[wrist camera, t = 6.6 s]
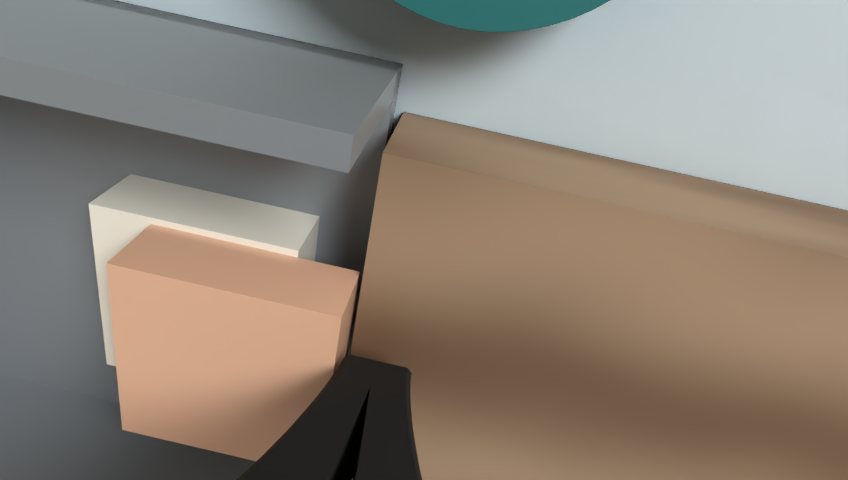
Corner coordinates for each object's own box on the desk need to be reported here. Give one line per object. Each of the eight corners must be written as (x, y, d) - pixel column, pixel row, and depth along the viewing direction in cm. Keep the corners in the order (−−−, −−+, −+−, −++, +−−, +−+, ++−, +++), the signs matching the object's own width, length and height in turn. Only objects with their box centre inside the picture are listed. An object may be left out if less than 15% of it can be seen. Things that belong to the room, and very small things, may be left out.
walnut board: (840, 544, 18) (887, 633, 15) (348, 430, 18) (326, 501, 16) (1091, 264, 13) (1212, 338, 10) (403, 112, 13) (382, 152, 11)
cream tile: (303, 361, 16) (284, 405, 15) (141, 325, 16) (106, 364, 15) (319, 216, 14) (298, 251, 12) (130, 174, 14) (88, 203, 12)
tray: (338, 450, 18) (292, 597, 14) (-30, 365, 19) (-174, 486, 15) (402, 63, 12) (353, 135, 8) (-142, -57, 13) (-436, -41, 9)
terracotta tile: (336, 421, 15) (317, 475, 13) (158, 380, 15) (122, 429, 13) (360, 271, 12) (341, 317, 11) (151, 223, 12) (106, 263, 11)
